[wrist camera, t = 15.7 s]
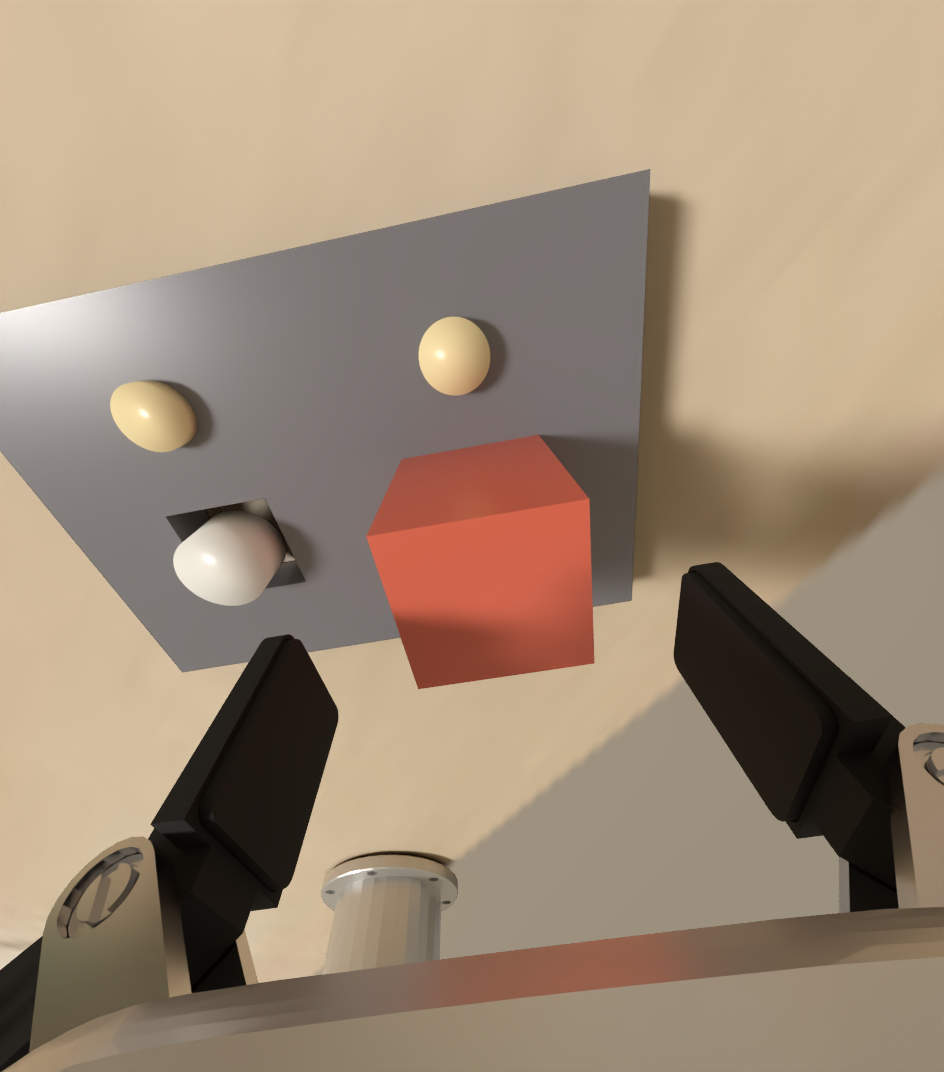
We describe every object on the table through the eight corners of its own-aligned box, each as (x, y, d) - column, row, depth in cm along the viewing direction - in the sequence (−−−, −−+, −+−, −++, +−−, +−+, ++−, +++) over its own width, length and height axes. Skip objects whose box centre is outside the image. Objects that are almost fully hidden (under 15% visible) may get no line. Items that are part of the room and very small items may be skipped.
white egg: (297, 569, 17) (279, 598, 15) (228, 581, 17) (202, 611, 15) (265, 503, 15) (240, 528, 13) (188, 517, 15) (154, 543, 14)
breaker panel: (616, 574, 19) (636, 609, 17) (205, 642, 21) (174, 682, 18) (621, 190, 12) (660, 161, 10) (-24, 331, 13) (-123, 335, 11)
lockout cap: (549, 553, 16) (594, 663, 11) (431, 572, 16) (418, 689, 11) (538, 434, 14) (589, 498, 8) (401, 459, 14) (366, 536, 9)
